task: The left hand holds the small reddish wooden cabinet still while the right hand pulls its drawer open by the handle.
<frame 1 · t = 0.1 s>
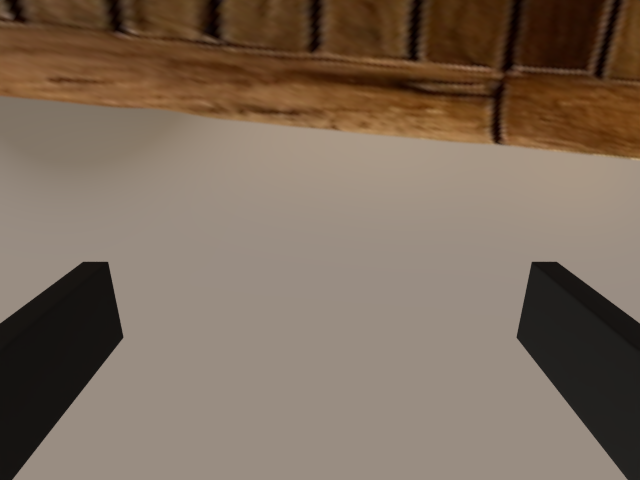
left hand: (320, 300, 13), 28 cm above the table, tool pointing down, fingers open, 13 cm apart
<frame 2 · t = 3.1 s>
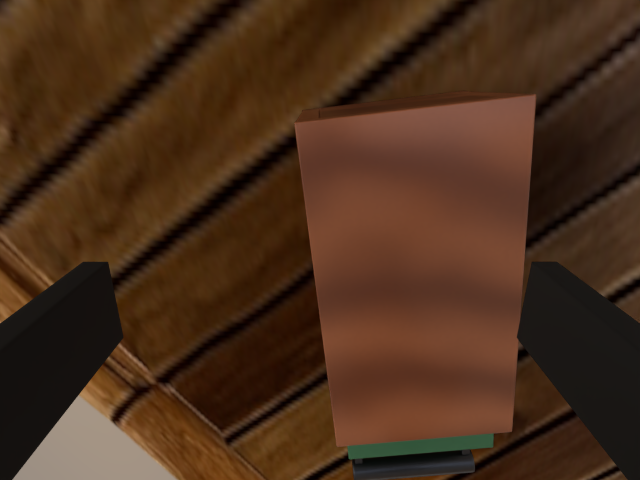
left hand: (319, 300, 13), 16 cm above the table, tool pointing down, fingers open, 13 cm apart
drawer: (405, 343, 27), point 5 cm above the table, slide at 1.1 cm
cabinet: (389, 235, 29), on the table
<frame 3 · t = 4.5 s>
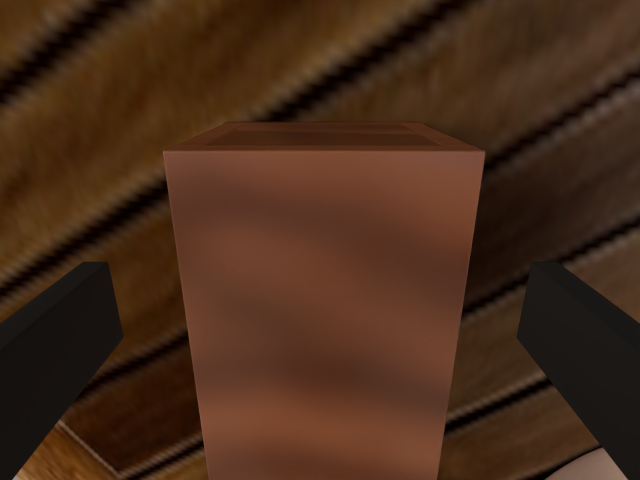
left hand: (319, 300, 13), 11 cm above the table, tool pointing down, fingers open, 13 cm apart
cabinet: (322, 278, 25), on the table
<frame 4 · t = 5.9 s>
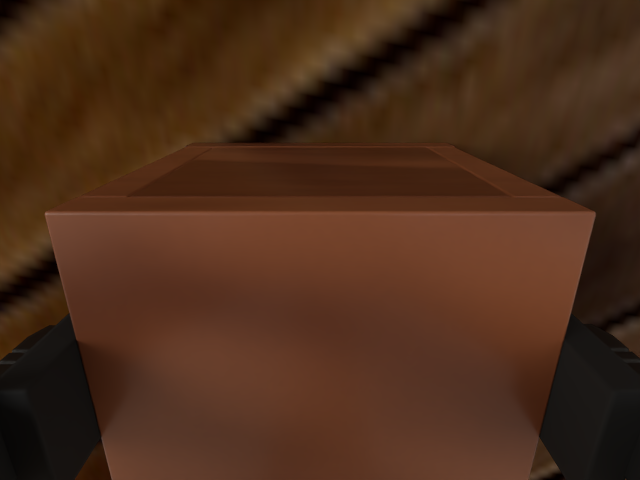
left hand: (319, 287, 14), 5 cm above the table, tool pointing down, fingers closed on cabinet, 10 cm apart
cabinet: (320, 338, 20), on the table, touching left hand
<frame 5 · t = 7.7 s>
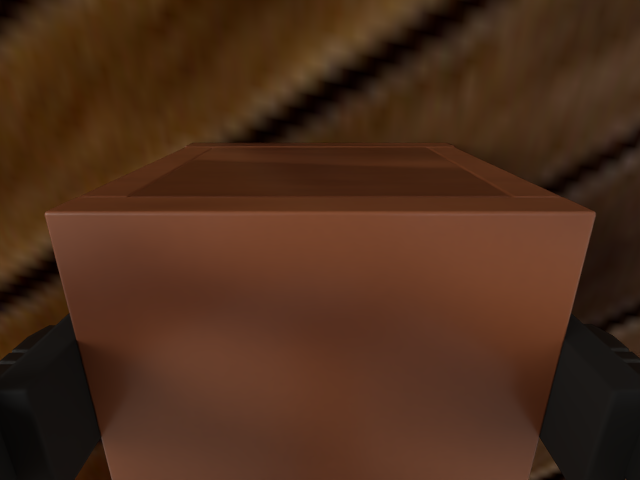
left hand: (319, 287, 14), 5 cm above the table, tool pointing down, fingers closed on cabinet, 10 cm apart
cabinet: (320, 338, 20), on the table, touching left hand
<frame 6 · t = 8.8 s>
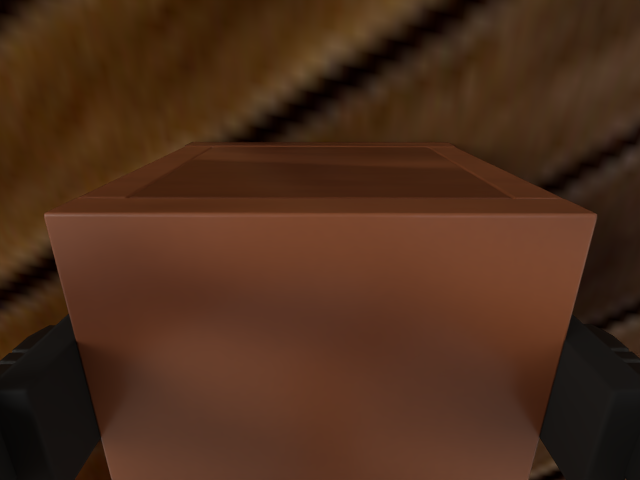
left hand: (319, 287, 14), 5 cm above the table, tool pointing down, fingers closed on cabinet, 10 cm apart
cabinet: (319, 338, 20), on the table, touching left hand
when the left hand's fingers open (5 cm above the table, at t = 10.6 s): cabinet stays where it is, on the table.
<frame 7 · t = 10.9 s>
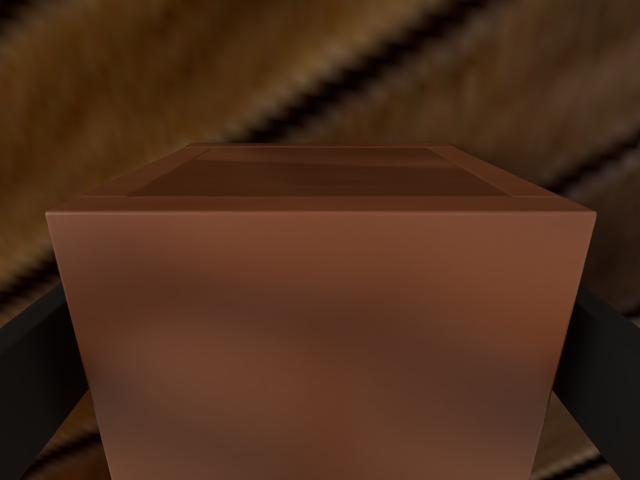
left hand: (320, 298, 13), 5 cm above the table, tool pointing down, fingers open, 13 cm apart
cabinet: (320, 339, 20), on the table
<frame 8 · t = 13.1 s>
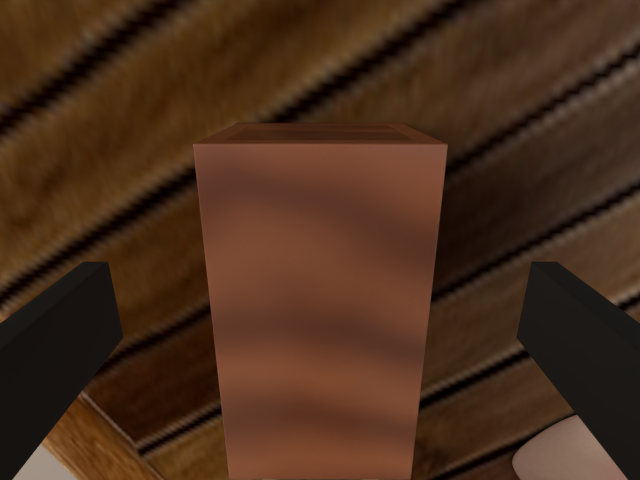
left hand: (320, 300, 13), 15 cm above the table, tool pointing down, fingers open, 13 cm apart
drawer: (320, 431, 28), point 5 cm above the table, slide at 5.9 cm
anatomical model: (591, 459, 35), on the table
cabinet: (320, 261, 28), on the table
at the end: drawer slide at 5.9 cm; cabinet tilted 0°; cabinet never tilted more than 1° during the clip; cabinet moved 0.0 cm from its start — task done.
